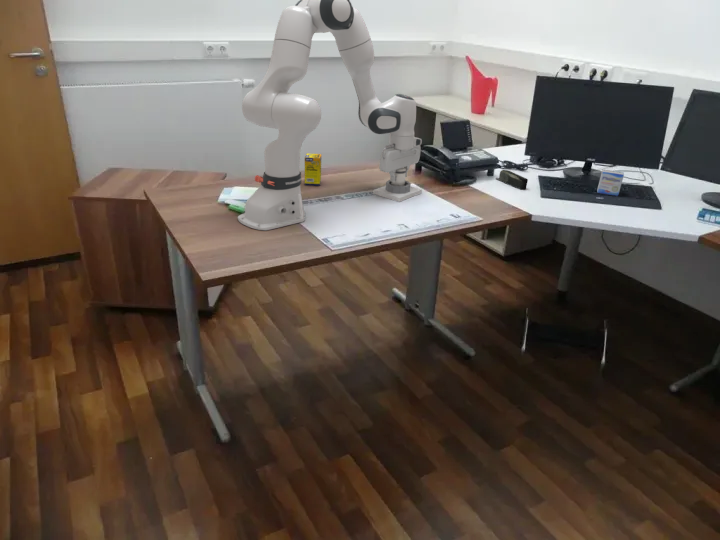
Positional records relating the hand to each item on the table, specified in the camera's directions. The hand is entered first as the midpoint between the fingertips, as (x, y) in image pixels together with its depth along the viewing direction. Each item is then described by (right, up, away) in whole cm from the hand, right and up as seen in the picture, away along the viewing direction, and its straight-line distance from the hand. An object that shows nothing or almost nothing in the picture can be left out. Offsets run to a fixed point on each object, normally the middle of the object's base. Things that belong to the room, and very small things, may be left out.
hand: (398, 179), depth 204 cm
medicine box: (+84, -3, +14) cm, 85 cm away
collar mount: (0, -5, +3) cm, 6 cm away
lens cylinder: (0, -3, +1) cm, 3 cm away
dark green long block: (+46, +1, +19) cm, 50 cm away
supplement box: (-32, 0, +9) cm, 33 cm away
